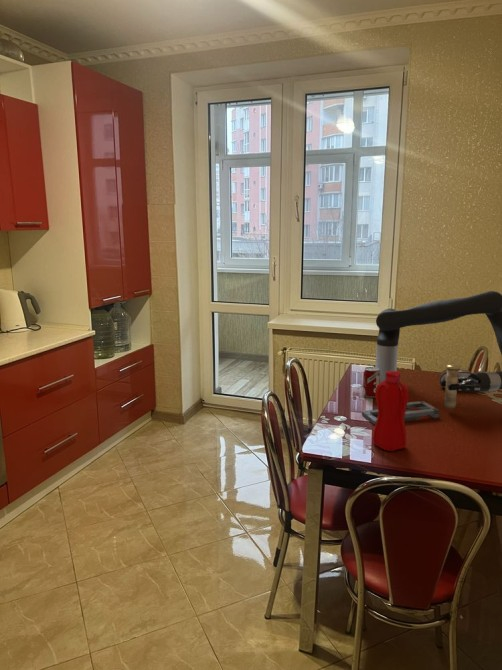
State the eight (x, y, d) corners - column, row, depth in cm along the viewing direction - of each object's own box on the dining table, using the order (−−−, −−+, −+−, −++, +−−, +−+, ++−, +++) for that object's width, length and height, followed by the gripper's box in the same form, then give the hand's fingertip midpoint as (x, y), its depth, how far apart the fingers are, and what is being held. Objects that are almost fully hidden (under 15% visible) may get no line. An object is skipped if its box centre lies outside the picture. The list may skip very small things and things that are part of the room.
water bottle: (390, 456, 148) (394, 379, 143) (368, 442, 158) (371, 369, 153) (414, 450, 152) (419, 375, 146) (391, 437, 162) (395, 366, 156)
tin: (472, 387, 210) (474, 369, 208) (475, 390, 207) (476, 371, 205) (437, 387, 211) (438, 368, 210) (439, 389, 208) (440, 370, 206)
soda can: (361, 397, 199) (362, 370, 197) (364, 392, 205) (365, 365, 203) (378, 399, 197) (379, 371, 194) (380, 394, 203) (381, 367, 200)
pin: (440, 404, 183) (443, 364, 180) (451, 403, 184) (454, 363, 181) (448, 409, 179) (451, 368, 175) (459, 407, 180) (463, 367, 176)
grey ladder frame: (374, 425, 172) (374, 417, 171) (361, 414, 181) (362, 407, 181) (438, 417, 177) (439, 410, 177) (423, 408, 187) (423, 400, 186)
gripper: (473, 367, 189) (434, 370, 185) (499, 378, 175) (458, 381, 171) (471, 385, 190) (432, 388, 186) (496, 397, 177) (456, 401, 173)
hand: (445, 385), depth 179 cm, fingers closed on pin, 4 cm apart
